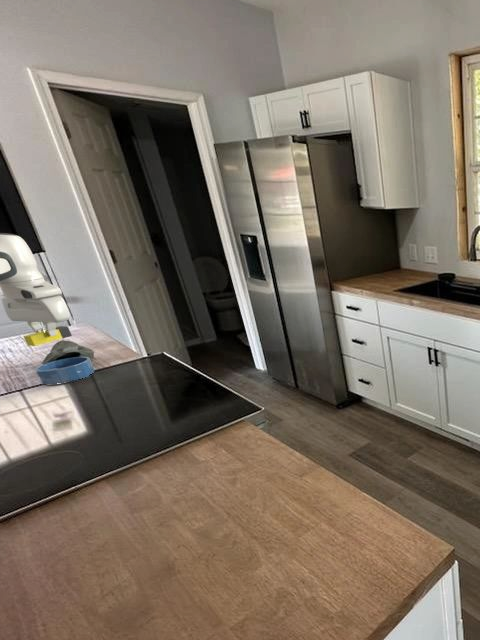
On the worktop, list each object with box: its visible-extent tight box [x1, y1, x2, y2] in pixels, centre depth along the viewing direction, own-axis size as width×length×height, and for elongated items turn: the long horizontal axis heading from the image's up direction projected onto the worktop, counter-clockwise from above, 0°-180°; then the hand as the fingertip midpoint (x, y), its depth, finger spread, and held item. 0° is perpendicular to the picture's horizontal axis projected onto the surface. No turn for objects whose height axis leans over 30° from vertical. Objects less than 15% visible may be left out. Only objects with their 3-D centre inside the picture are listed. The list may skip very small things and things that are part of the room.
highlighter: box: [23, 325, 73, 347], centre depth 124 cm, size 9×3×3 cm, turn 167°
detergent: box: [41, 339, 95, 365], centre depth 145 cm, size 13×7×25 cm
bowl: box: [34, 357, 96, 386], centre depth 132 cm, size 12×12×5 cm
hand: (47, 335), depth 124 cm, fingers closed on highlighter, 3 cm apart
